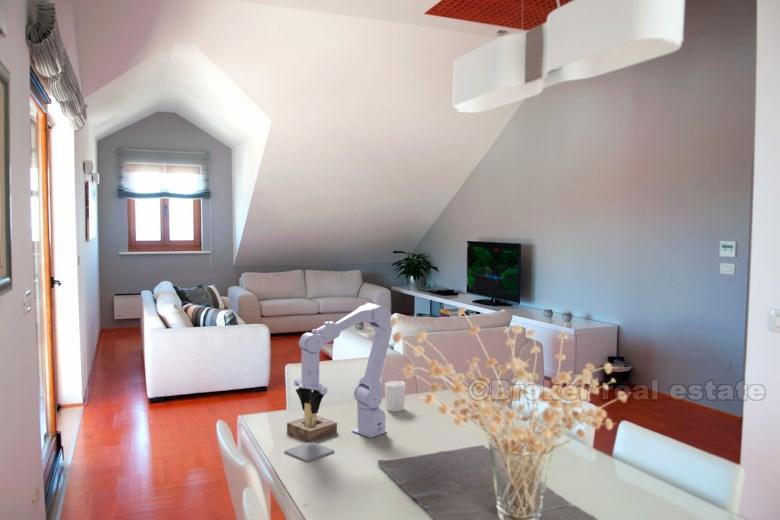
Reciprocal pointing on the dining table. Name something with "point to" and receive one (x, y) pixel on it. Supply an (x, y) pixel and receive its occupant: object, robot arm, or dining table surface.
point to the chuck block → (312, 429)
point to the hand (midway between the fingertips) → (310, 411)
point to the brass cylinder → (309, 416)
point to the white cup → (394, 395)
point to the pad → (309, 451)
